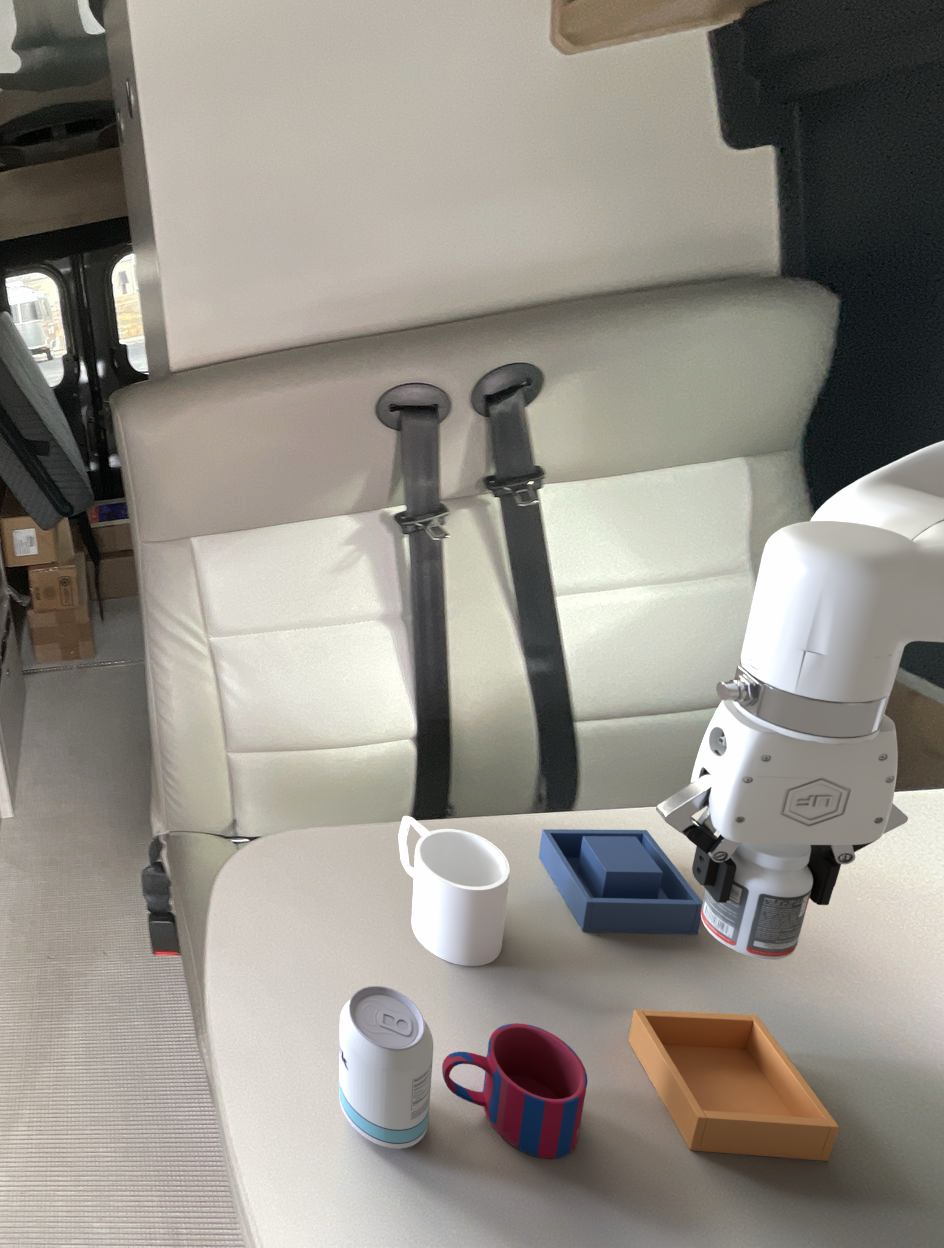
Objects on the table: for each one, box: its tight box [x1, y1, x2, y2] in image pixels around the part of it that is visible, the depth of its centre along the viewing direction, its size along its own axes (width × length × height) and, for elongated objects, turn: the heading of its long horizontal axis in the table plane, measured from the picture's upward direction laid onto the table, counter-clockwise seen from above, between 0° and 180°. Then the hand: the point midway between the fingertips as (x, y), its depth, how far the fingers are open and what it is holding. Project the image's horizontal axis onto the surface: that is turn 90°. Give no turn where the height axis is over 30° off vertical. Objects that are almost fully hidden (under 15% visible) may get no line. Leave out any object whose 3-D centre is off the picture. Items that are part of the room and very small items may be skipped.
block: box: [578, 836, 663, 899], centre depth 86 cm, size 5×5×5 cm
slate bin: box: [538, 828, 703, 935], centre depth 87 cm, size 10×10×4 cm
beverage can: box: [338, 985, 434, 1150], centre depth 69 cm, size 7×7×12 cm
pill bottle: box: [701, 843, 813, 961], centre depth 64 cm, size 6×6×10 cm
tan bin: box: [627, 1008, 840, 1162], centre depth 68 cm, size 9×9×4 cm
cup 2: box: [441, 1022, 588, 1160], centre depth 69 cm, size 7×10×7 cm
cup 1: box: [397, 815, 511, 967], centre depth 86 cm, size 8×12×10 cm
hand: (758, 888), depth 64 cm, fingers closed on pill bottle, 5 cm apart
